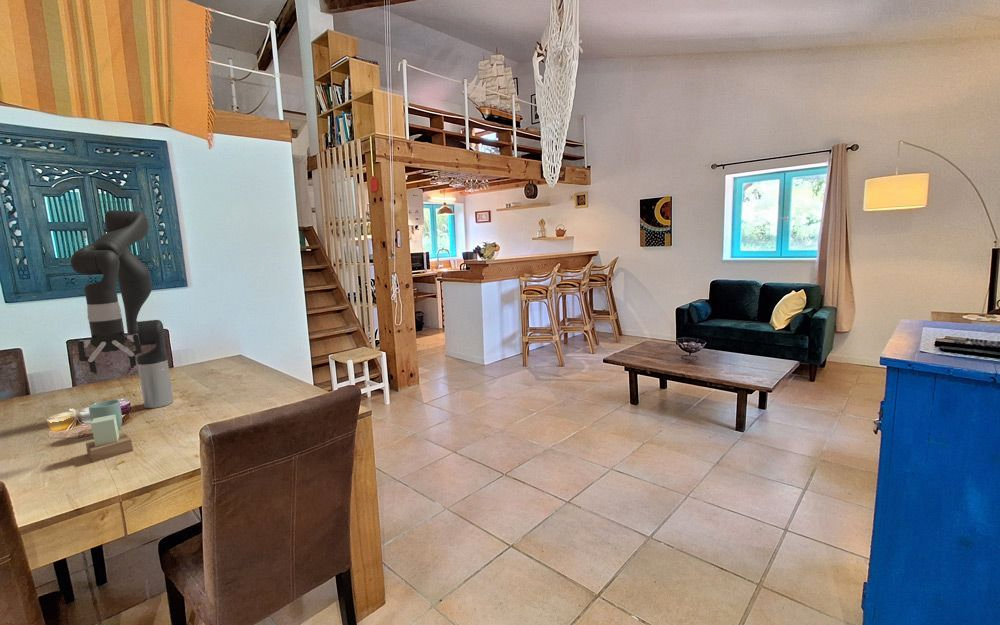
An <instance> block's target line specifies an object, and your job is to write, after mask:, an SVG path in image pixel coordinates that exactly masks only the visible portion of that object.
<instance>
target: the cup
mask: <svg viewBox="0 0 1000 625" xmlns="http://www.w3.org/2000/svg"><path fill="white" fill-rule="evenodd" d="M121 407H122V406H121V402H120V400H119V399H109V400H103V401H97V402H94V403H92V404H90V405H89V406H88V410H89V411H88V412H89V417H90V421H91V423H92V421H93V419H94V418H99V417H104V416H110V415H116V421H117V426H118V431H119V430H120V429H121V427H122V425H123V413H122V408H121Z"/></svg>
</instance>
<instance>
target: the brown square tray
mask: <svg viewBox="0 0 1000 625" xmlns="http://www.w3.org/2000/svg"><path fill="white" fill-rule="evenodd" d="M85 447H86V453H87V456H88V457H89V456H90V457H89V458H90V460H91V459H92V460H91V461H92V463H97V462H101V461H104V460H107V459H110V458H113V457H118V456H121V455H124V454H128V453H131V452H134V448H133V443H132V439H131V438H130V437H129V436H128V435H127V434H126V433H125V432H120V433H119V439H118V442H114V443H109V444H105V445H100V446H95V442H94V440H91V441H87V442H85ZM100 460H101V461H100Z"/></svg>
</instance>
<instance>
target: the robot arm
mask: <svg viewBox="0 0 1000 625" xmlns="http://www.w3.org/2000/svg"><path fill="white" fill-rule="evenodd" d="M104 225H105V230H106V233H104V234H102V235H101V236H99V237H98V238H97V239H96V240H95V241H94V242H93V243H90V244H88V245H86V246H83V247H81V248H79V249H78V250H76V251H75V252H74V253H73V254H72V256H71V258H70V265H71V266H70V268H72V270H73V271H74V272H76V273H77V274H79V275H83V276H92V275H93V276H94V275H97V276H98V275H100V276H101V275H103V276H102V279H101V280H100V281H96V282H92V283H88V284H86V285H85V286H84V295H85V300H86V306H87V308H86V310H87V311H86V312H87V320H88V324H89V330H90V336H91V339H86V340H85V339H79V341H78V342H77V349H78V350H77V351H78V357H79V361H80V362H87V363H89V364H88V365H89V371H90V373H93V374H94V375H97V374H98V372H99V371H98V367H97V360H96V358H97V357H98V355H99V354H100V353H101V352H102V353H109V352H118V351H122V352H124V353H125V354H126V355H128V357H129V364H130V369H134V368H135V367H136V366H137V368H138V369H137V371H138V376H139V381H140V387H141V394H142V401H143V406H144V408H145V409H154V408H160V407H161V408H162V407H165V406H169V405H171V404H173V403H174V395H173V388H172V382H171V375H170V374H171V373H170V367H169V360H168V356H167V348H166V340H165V329H164V324H163V322H162V321H161V320H159V319H151V320H150V319H149V320H141V321H139V320H137V319H138V315H139V313H140V311H141V309H142V307H143V306H144V304H145V302H146V301H147V300H148V298H149V296H150V295H151V293H152V290H153V285H152V284H153V283H152V279H151V273H150V271H149V269H148V268H147V267H146V265H145V264H144V263H143V262H142V261H141V260H140V259H139V258H138V257H137V256H135V254H134V253H133V252H132V251H131V250H130V248H129V247H131V246H133V245H134V244H136V243H137V242H140V241H141V240H142V239H144V238H145V237H146V236H147V235H148V233H149V227H150V226H149V220H148V218H147V215H146V214H144V213H143V212H141V211H131V210H117V209H113V210H111V209H110V210H107V211H106V213H105V215H104ZM117 282H118V287H119V290H120V294H121V298H122V299H121V300H122V303H123V307H124V315H125V322H126V331H127V332H126V333H127V334H126V333H125V327H124V322H123V315H122V310H121V307H120V303H119V299H118V293H117ZM127 340H128V341H129V343H130V345H131V346H134V347H135V349H133V350H132V349H131V348H130V347H129V346H127V345H126V342H127ZM89 344H91V346H93V347H94V348H95V349H94V351H93V352H92V353H91V354H90V355H89V356H88V355H87V353H86V348H88V346H89ZM148 345H149V346H150V345H154V347H153V348H151V349H150V350H148V351H146V352H144V353H142V352H143V351H142V346H148ZM139 354H140V355H139ZM136 356H137V357H136Z"/></svg>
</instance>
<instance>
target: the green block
mask: <svg viewBox="0 0 1000 625" xmlns="http://www.w3.org/2000/svg"><path fill="white" fill-rule="evenodd" d="M90 425H91V431H92V436H93V441H94V442H95V446H100V445H105V444H109V443H114V442H118V439H119V434H120V433H119V430H118V426H117V421H116V415H110V416H104V417H99V418H94V419H93V421H92V422H91V423H90Z"/></svg>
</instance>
